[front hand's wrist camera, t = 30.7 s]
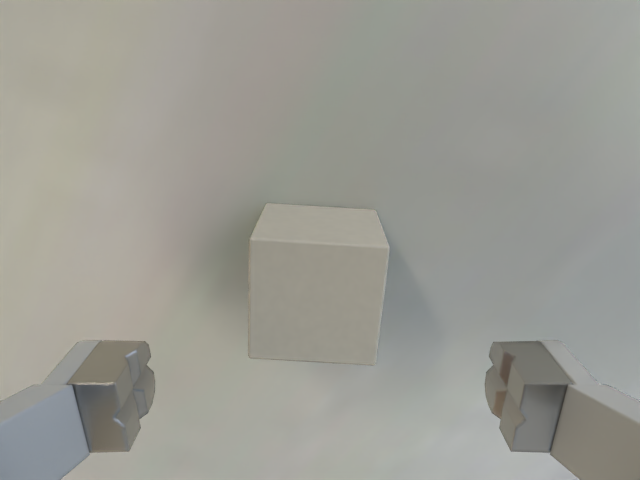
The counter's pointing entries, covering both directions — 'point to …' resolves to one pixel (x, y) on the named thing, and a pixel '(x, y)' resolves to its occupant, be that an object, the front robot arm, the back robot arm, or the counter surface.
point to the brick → (316, 284)
